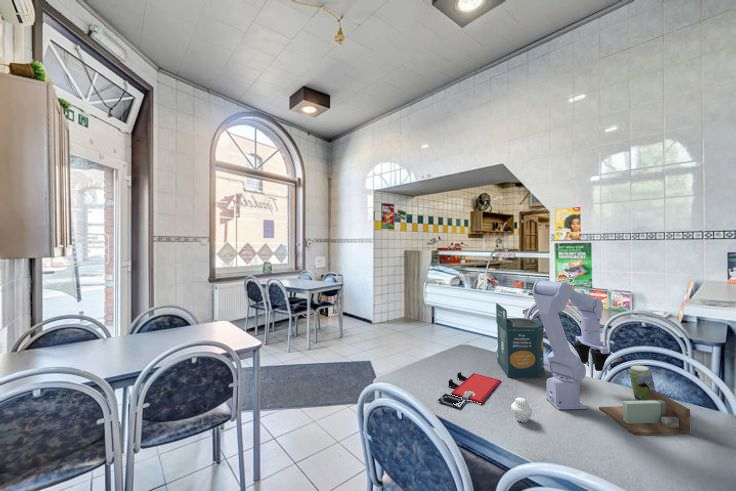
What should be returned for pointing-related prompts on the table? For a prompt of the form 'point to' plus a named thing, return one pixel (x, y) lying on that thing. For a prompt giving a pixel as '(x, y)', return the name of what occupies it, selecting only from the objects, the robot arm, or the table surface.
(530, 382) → the table surface
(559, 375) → the robot arm
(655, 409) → the green piece
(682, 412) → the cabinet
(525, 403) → the muffin
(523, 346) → the donation box
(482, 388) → the red board with handle
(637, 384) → the beverage can
